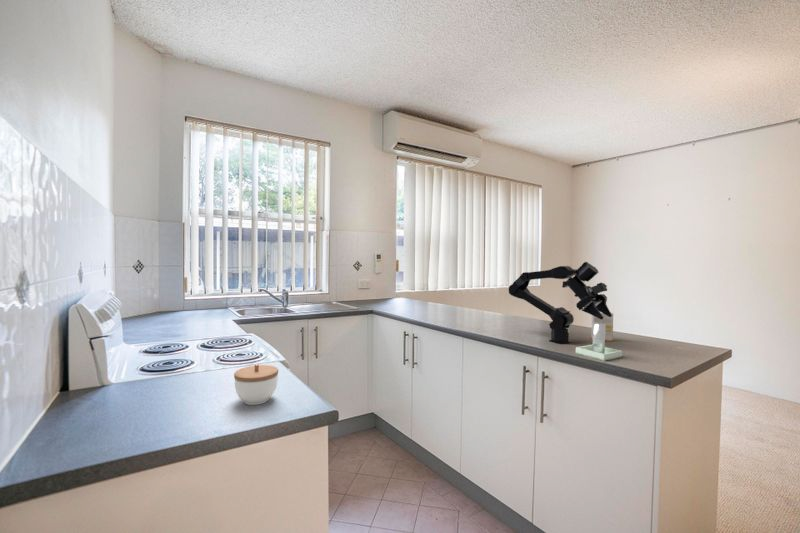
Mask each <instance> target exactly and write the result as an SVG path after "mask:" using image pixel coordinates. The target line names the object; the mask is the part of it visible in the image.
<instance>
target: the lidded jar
mask: <svg viewBox="0 0 800 533" xmlns="http://www.w3.org/2000/svg"><path fill="white" fill-rule="evenodd" d="M233 376H234V378H233V379H234V387H235V388H234V389H235V393H236V395H237V397H238V398H239V399H240V400H241V401H243V403H244V404H246V405H248V406H257V405H262V404H265V403H267V402H268V401H269V400H270V398H271V397H272V396H273V395H274V394H275V391H276V389H277V385H278V379H279V377H278V376H279V368H278V367H277V366H273V365H269V364H257V363H255V364H254V365H250V366H245V367H241V368H240V369H237V370H236V371H235V372H234V373H233Z"/></svg>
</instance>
